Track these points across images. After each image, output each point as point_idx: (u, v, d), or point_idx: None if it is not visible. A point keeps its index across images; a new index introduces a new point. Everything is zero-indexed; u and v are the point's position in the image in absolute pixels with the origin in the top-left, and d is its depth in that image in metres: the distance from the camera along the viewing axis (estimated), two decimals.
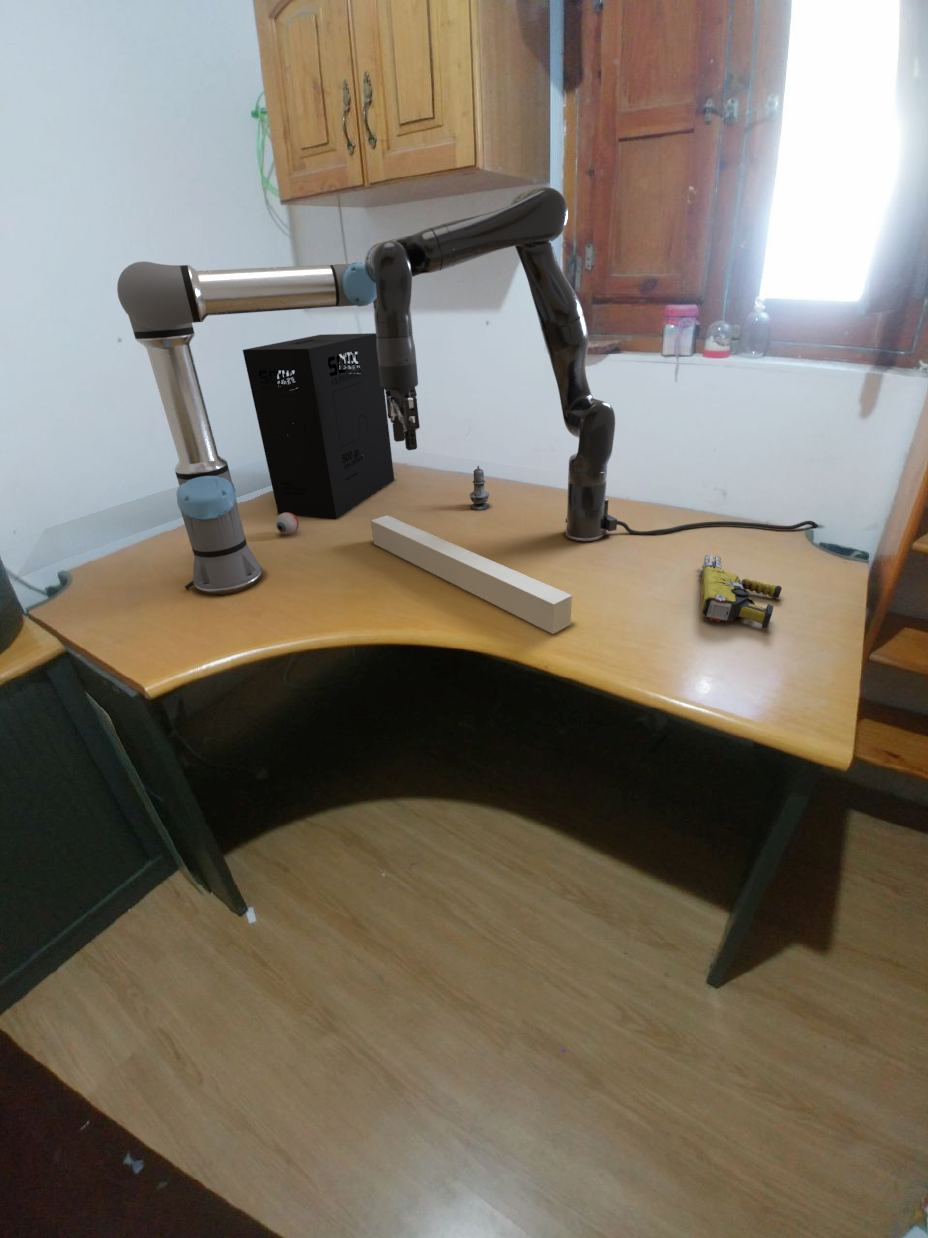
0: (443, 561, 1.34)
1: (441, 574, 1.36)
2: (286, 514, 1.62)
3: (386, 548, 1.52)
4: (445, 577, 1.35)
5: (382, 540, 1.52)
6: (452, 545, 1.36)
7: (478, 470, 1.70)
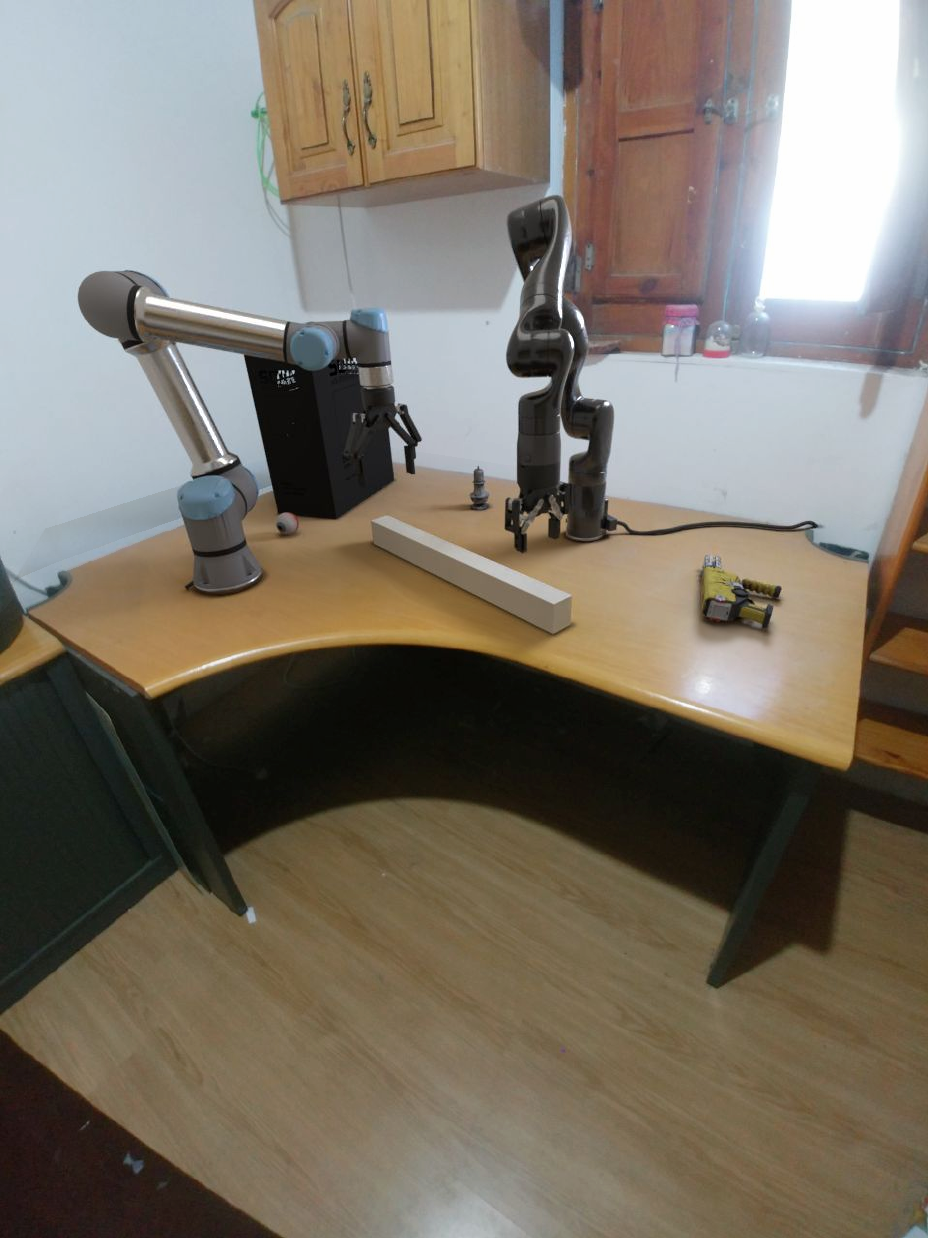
0: (443, 561, 1.34)
1: (441, 574, 1.36)
2: (286, 514, 1.62)
3: (386, 548, 1.52)
4: (445, 577, 1.35)
5: (382, 540, 1.52)
6: (452, 545, 1.36)
7: (478, 470, 1.70)
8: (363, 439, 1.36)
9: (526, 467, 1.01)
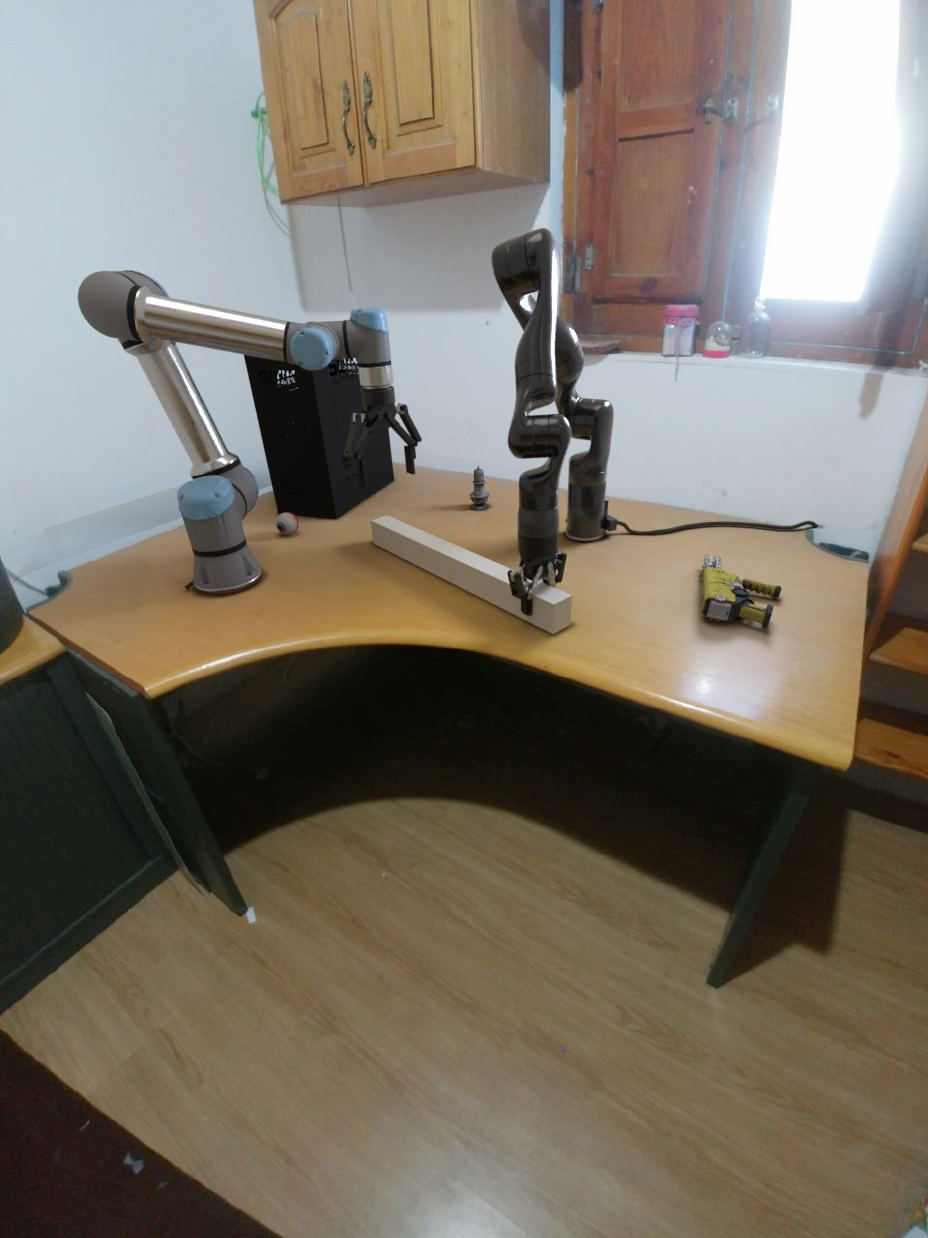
0: (443, 561, 1.34)
1: (441, 574, 1.36)
2: (286, 514, 1.62)
3: (386, 548, 1.52)
4: (445, 577, 1.35)
5: (382, 540, 1.52)
6: (452, 545, 1.36)
7: (478, 470, 1.70)
8: (363, 439, 1.36)
9: (526, 539, 1.08)
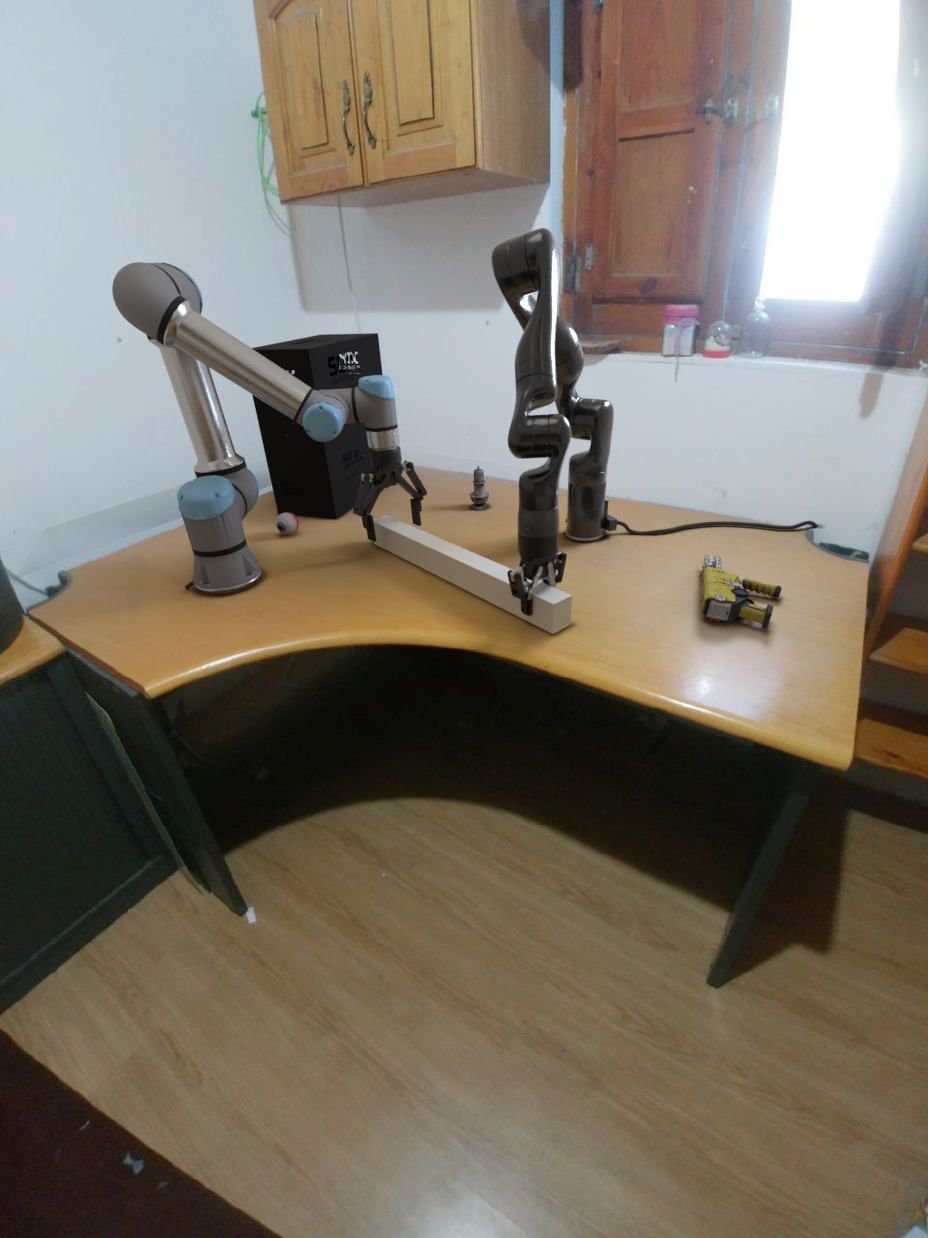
0: (443, 561, 1.34)
1: (441, 574, 1.36)
2: (286, 514, 1.62)
3: (386, 548, 1.52)
4: (445, 577, 1.35)
5: (382, 540, 1.52)
6: (452, 545, 1.36)
7: (478, 470, 1.70)
8: (371, 497, 1.42)
9: (526, 539, 1.08)
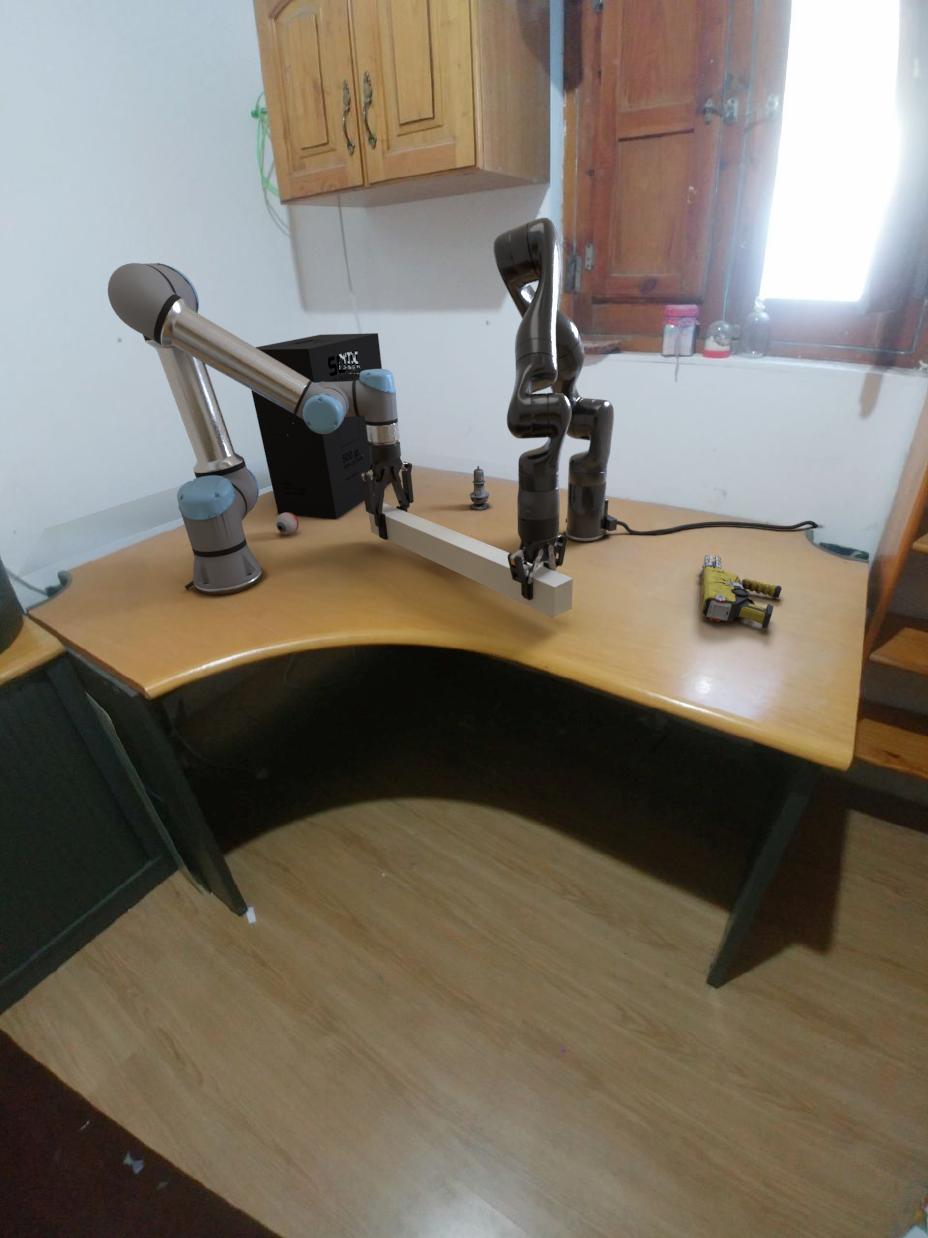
0: (442, 547, 1.32)
1: (440, 561, 1.35)
2: (286, 514, 1.62)
3: None
4: (444, 563, 1.34)
5: None
6: (451, 531, 1.35)
7: (478, 470, 1.70)
8: (378, 495, 1.44)
9: (526, 521, 1.06)
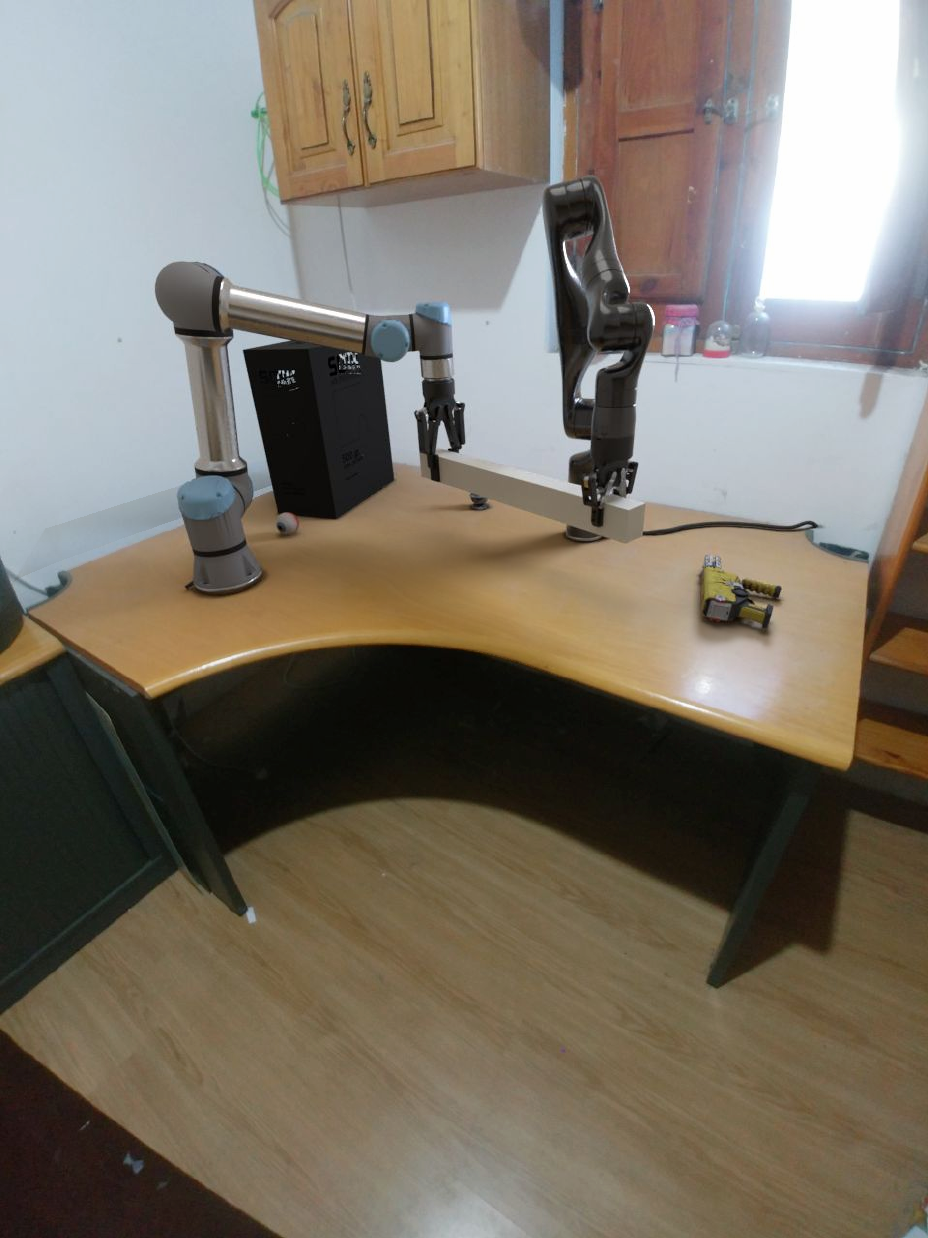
0: (501, 483, 1.30)
1: (498, 497, 1.32)
2: (286, 514, 1.62)
3: None
4: (502, 500, 1.32)
5: None
6: (509, 467, 1.33)
7: None
8: (432, 434, 1.41)
9: (602, 440, 1.04)
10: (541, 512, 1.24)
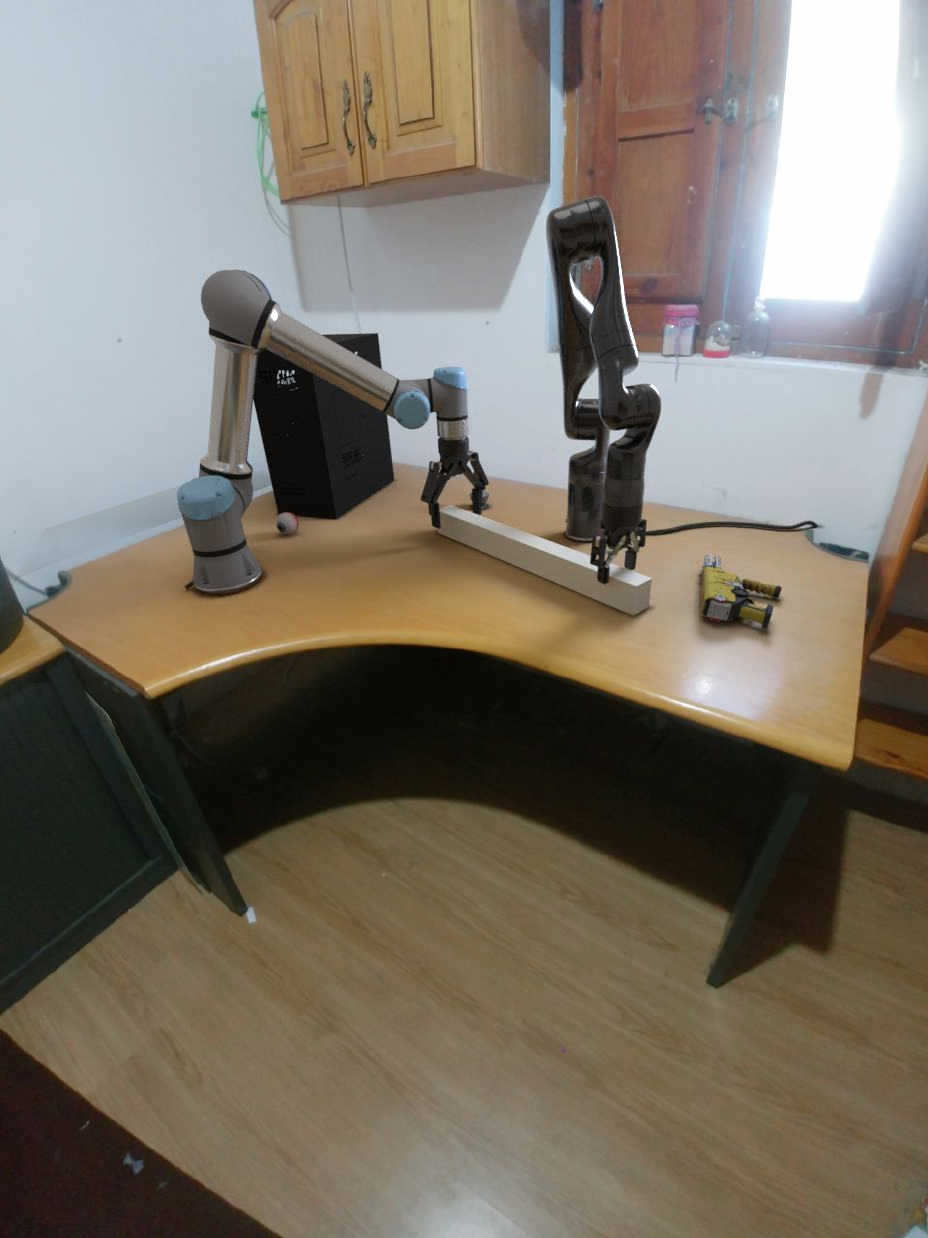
0: (515, 548, 1.38)
1: (512, 560, 1.41)
2: (286, 514, 1.62)
3: (451, 536, 1.56)
4: (516, 563, 1.40)
5: (447, 528, 1.56)
6: (522, 532, 1.41)
7: None
8: (439, 485, 1.47)
9: (613, 508, 1.11)
10: (553, 578, 1.32)
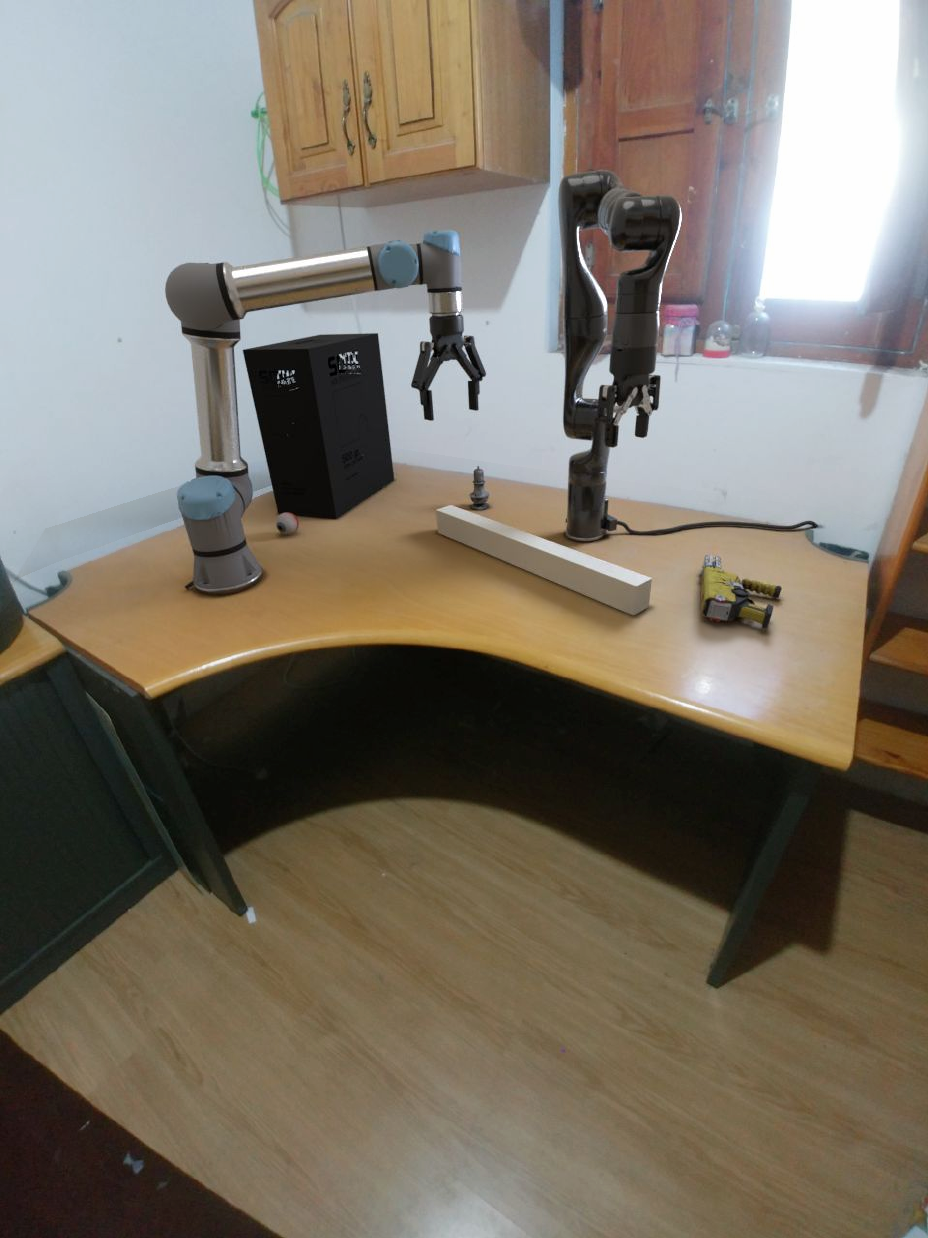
0: (515, 548, 1.38)
1: (512, 560, 1.41)
2: (286, 514, 1.62)
3: (451, 536, 1.56)
4: (516, 563, 1.40)
5: (447, 528, 1.56)
6: (522, 532, 1.41)
7: (478, 470, 1.70)
8: (431, 369, 1.34)
9: (623, 350, 0.98)
10: (553, 578, 1.32)
